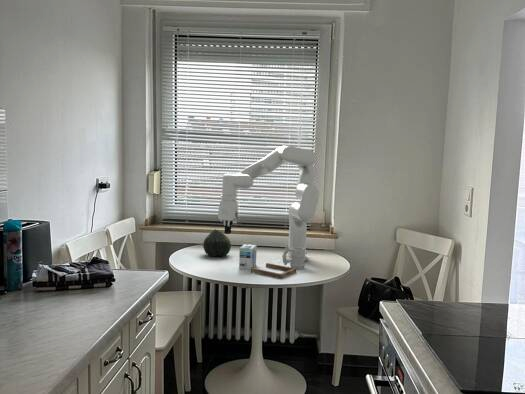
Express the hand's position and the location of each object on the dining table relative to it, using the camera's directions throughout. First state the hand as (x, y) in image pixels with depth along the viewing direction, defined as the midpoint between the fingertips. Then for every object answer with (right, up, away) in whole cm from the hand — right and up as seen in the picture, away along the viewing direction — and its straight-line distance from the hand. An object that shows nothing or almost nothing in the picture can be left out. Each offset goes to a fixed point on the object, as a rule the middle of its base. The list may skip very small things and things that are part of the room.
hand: (227, 233), depth 233 cm
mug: (+34, -17, -3) cm, 38 cm away
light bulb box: (+10, -17, -6) cm, 21 cm away
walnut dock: (+23, -18, -14) cm, 32 cm away
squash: (-8, -14, +17) cm, 24 cm away
